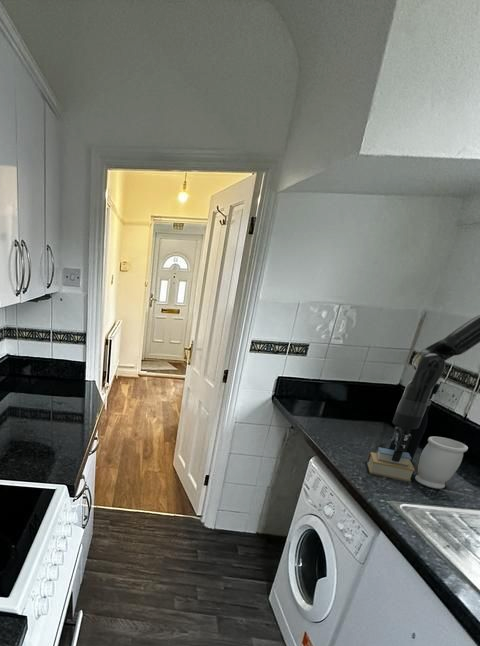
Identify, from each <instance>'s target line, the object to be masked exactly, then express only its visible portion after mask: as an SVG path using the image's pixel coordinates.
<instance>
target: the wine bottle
mask: <svg viewBox="0 0 480 646" xmlns="http://www.w3.org/2000/svg"><path fill="white" fill-rule="evenodd" d="M440 386H441V385H440V384H439V383H438V382H437V383H436V385H435V386H434V387H433V389H432V392H431V395H430V398H429V400H428V403H427V407H426V411H425V413H424V416H423V418H422V421H421V423H420V426H419V428H417V429H411V430H410V432H409V433H411V439H410V442H409V444H408V447H407V450H406V452H407V453H409V455H410V457H411V458H412V459H410V461H411V463H412V462H413V459H414V457H415V454H416V452H417V450H418V448H419V445H420V444H421V441H422V439H423V436H424V434H425V432H426V429H427V426H428V420H429V419H428V417H429V416H428V413H429V411H430V409H431V403H432V399H433V396H434V395H436V394H437V393H438V390H439V388H440ZM402 447H403V446H402V445H401V446H400V448H402Z"/></svg>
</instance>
